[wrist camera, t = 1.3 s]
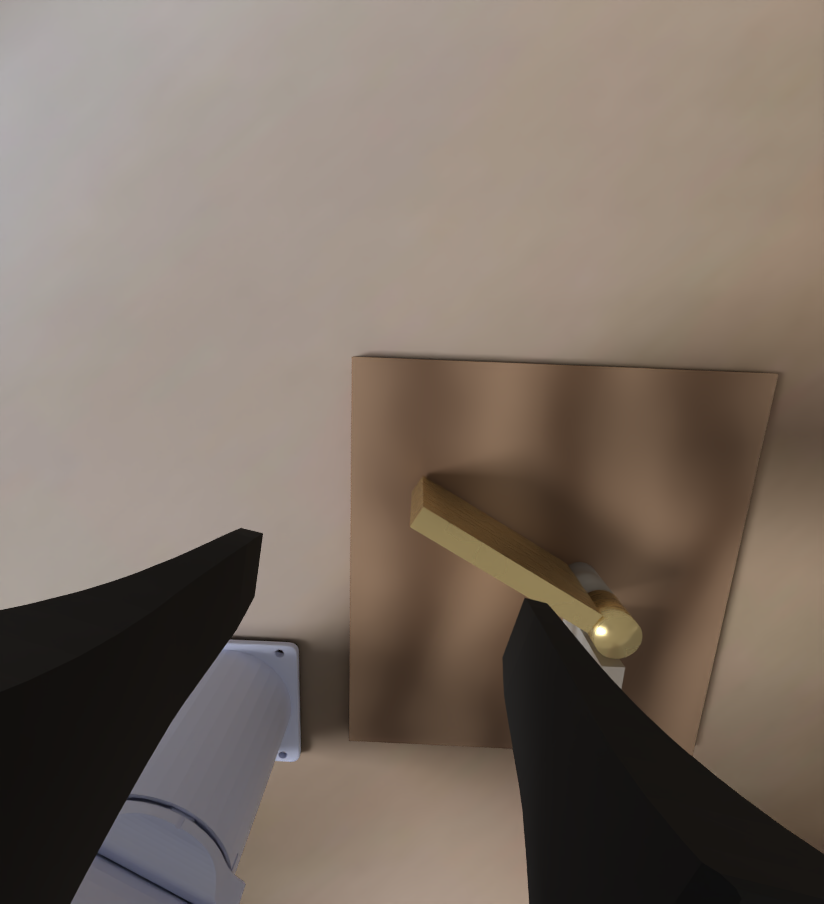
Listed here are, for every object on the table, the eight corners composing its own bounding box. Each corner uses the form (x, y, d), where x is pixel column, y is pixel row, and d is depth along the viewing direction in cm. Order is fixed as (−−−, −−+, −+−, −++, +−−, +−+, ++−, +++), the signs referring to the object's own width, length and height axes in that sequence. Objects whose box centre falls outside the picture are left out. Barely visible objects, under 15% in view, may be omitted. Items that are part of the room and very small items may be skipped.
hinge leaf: (583, 606, 23) (622, 666, 19) (406, 499, 22) (402, 536, 17) (607, 577, 23) (652, 631, 18) (428, 466, 21) (430, 496, 17)
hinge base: (351, 729, 26) (333, 828, 21) (354, 356, 21) (331, 358, 16) (683, 745, 26) (753, 849, 21) (765, 372, 21) (885, 380, 16)
